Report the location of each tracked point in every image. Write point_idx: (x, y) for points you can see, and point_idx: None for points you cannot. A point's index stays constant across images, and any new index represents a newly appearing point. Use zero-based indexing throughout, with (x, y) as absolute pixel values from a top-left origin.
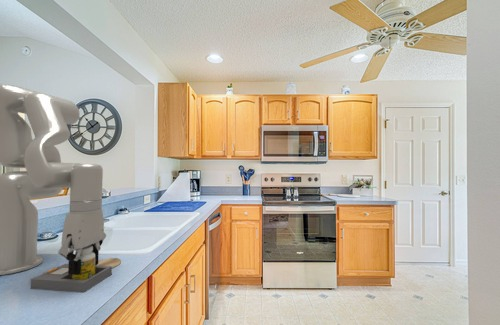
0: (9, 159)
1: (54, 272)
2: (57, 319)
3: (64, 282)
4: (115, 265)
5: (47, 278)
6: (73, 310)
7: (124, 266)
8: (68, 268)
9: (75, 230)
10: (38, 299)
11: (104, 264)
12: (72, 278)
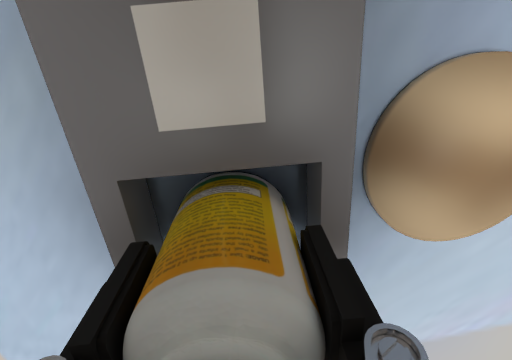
0: None
1: (155, 29)
2: (4, 352)
3: (108, 236)
4: (426, 239)
5: (70, 80)
6: (59, 353)
7: (427, 269)
8: (115, 268)
9: None
10: (18, 165)
11: (444, 169)
12: (174, 217)
